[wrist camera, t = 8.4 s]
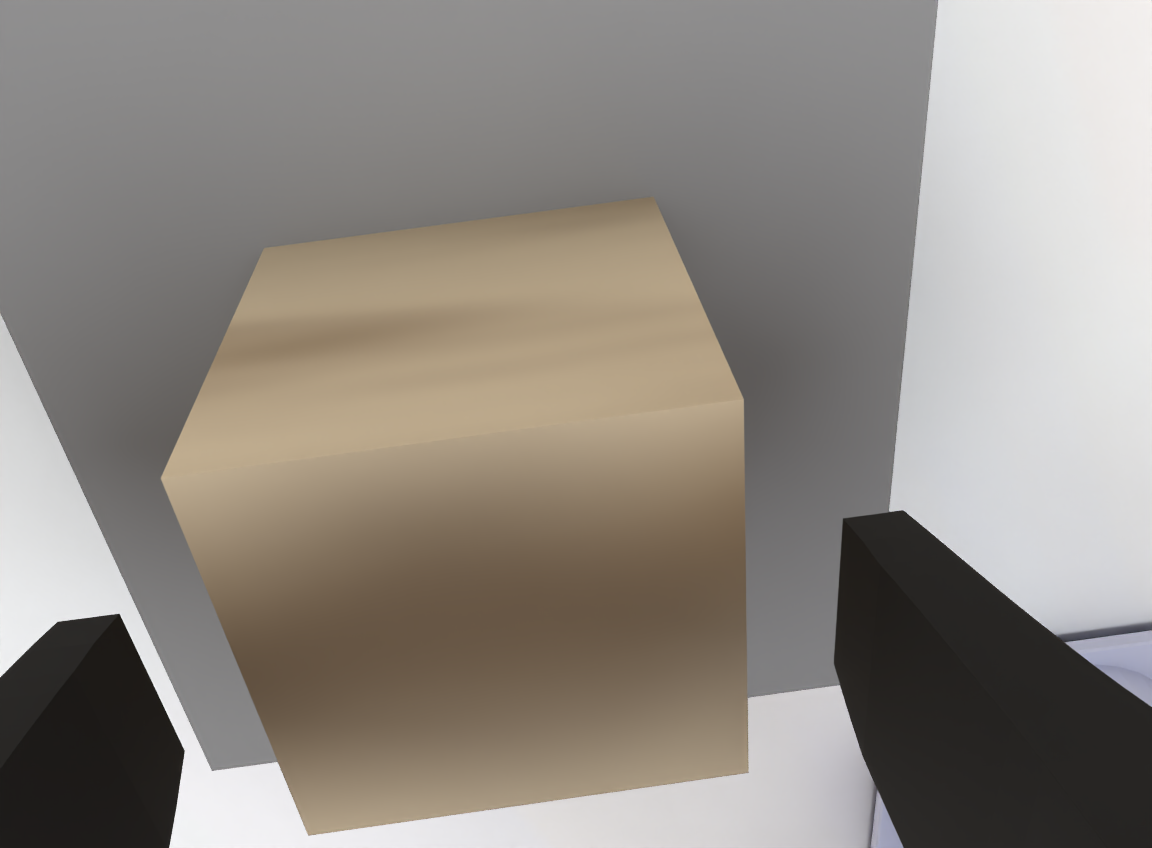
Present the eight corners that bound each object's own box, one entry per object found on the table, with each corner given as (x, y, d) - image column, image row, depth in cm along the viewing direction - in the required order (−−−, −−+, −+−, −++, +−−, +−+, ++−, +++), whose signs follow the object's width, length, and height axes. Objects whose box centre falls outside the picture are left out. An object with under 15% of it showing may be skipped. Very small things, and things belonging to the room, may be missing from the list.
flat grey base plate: (809, 540, 21) (872, 680, 18) (253, 614, 21) (212, 770, 18) (842, -238, 14) (962, -246, 10) (-29, -136, 13) (-196, -111, 10)
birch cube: (673, 504, 15) (748, 772, 11) (352, 548, 15) (308, 835, 11) (654, 196, 13) (742, 399, 8) (263, 248, 13) (160, 478, 8)
